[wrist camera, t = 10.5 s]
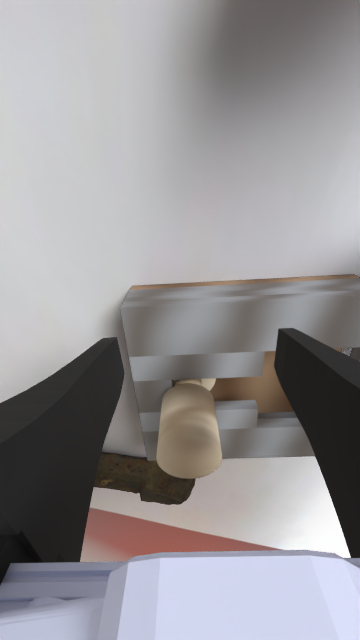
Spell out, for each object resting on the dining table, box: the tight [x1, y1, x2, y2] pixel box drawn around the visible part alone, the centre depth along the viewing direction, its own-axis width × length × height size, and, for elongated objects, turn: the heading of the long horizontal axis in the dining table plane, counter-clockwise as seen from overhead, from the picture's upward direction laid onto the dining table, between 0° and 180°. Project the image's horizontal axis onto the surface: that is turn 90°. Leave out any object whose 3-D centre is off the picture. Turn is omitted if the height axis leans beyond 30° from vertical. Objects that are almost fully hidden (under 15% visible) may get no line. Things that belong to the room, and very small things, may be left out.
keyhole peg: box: [156, 378, 222, 479], centre depth 19 cm, size 5×5×9 cm
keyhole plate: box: [120, 274, 360, 461], centre depth 22 cm, size 18×16×4 cm
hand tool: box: [94, 453, 195, 505], centre depth 29 cm, size 19×4×5 cm, turn 77°
